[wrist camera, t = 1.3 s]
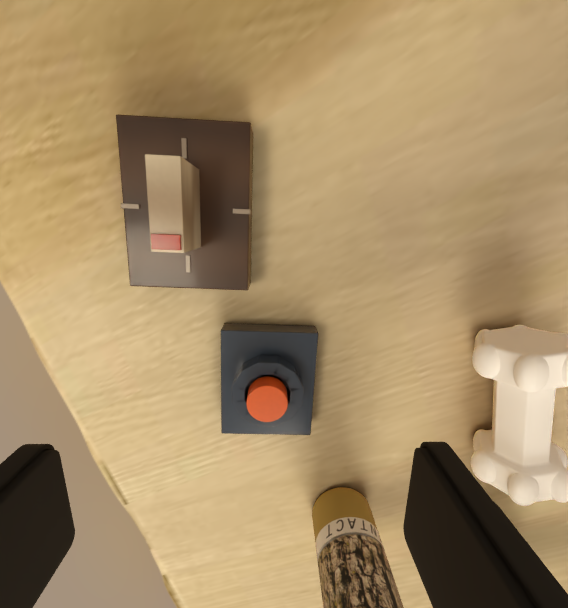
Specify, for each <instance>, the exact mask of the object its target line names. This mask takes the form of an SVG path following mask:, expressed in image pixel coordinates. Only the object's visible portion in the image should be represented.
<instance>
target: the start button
mask: <svg viewBox="0 0 568 608" xmlns="http://www.w3.org/2000/svg"><path fill="white" fill-rule="evenodd" d="M246 405H247V409H248V412H249V413H250V415H251V416H252V417H254V418H255V419H257V420H259V421H262V422H272V421H275V420H277V419H279V418H281V417H282V416H283V415H284V413H285V412H286V410H287V407H288V398H287V389H286V387H285V385H284V384H283V383H282V382H281V381H280V380H279V379H277V378H275V377H270V376H265V377H261V378H258V379H256V380H255V381H254V382H253V383H252V384H251V385H250V387H249V390H248V395H247V402H246Z"/></svg>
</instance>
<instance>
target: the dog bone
mask: <svg viewBox="0 0 568 608" xmlns="http://www.w3.org/2000/svg"><path fill="white" fill-rule="evenodd" d="M474 347H475V349H474V351H473V355H472V362H473V366H474V368H475V370H476V371H477V372H478V373H479V374H480V375H481V376H483V377H485V378H490V379H493V380H494V389H493V418H492V430H483V429H480V430H478V431H476V433H475V434H474V437H473V449H474V453H473V455H472V457H471V468H472V471H473V473H474V474H475V476H476V477H477V478H478V479H479V480H481V481H482V482H485V483H489V484H491V485H492V486H494V487H496V488H497V489H499V490H501V491H502V492H504V493H506V494H508V495H509V496H510V498H511V499H512V500H513V501H514V502H515V503H517V504H519V505H522V506H528V505H531V504H533V503H534V502H539V501H546V500H553V499H554V500H556V501H558V502H561V503H565V502H568V470H567V469H566V468H567V465H568V461H567V456H566V453H565V452H564V450H563V449H562V448H561V447H560V446H558V445H557V444H555V443H552V442H551V435H552V424H553V413H554V402H555V392H556V388H560V387H567V386H568V334H567V333H563V332H550V331H544V330H539V329H533V328H528V327H527V326H525V325H515V326H513V327H508V328H501V329H494V330H488V329H483V330H481V331H479V332H478V333H477V335H476V338H475V345H474Z"/></svg>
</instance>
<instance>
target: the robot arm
mask: <svg viewBox="0 0 568 608" xmlns="http://www.w3.org/2000/svg"><path fill="white" fill-rule="evenodd" d="M74 535H75V528H74V524H73V518H72V513H71V508H70V503H69V499H68V493H67V488H66V483H65V478H64V473H63V468H62V464H61V458H60V454H59V452H58V451H57V450H54V447H53V446H52V445H50V444H26V445H23V446H21V447H20V448H18V449H17V450H16V451H15V452H14V453H13V454H11V455H10V456H9V457H8V458H7V459H6V460H5V461H4V462H2V463H1V464H0V608H33V606H34V604H35V603H36V601H37V599H38V598H39V597H40V595H41V593H42V592H43V590H44V588H45V587H46V585H47V584H48V582H49V581H50V579H51V577H52V576H53V574H54V573H55V571H56V569H57V568H58V566H59V565H60V563H61V562H62V560H63V558H64V557H65V555H66V554H67V552H68V550H69V549H70V547H71V545H72V542H73V539H74ZM404 535H405V539H406V542H407V545H408V548H409V550H410V552H411V555H412V557H413V560H414V562H415V565H416V567H417V569H418V572H419V574H420V577H421V579H422V582H423V584H424V586H425V589H426V591H427V594H428V596H429V599H430V601H431V604H432V606H433V608H568V594H567V593H566V592H565V590H564V589H563V588H562V586H561V585H560V584H559V583H558V581H557V580H556V579H555V578H554V576H553V575H552V574H551V572H550V571H549V570H548V569H547V567H546V566H545V565H544V564H543V562H542V561H541V560H540V558H539V557H538V556H537V555H536V553H535V552H534V551H533V550H532V548H531V547H530V546H529V545H528V543H527V542H526V541H525V539H524V538H523V537H522V536H521V534H520V533H519V532H518V531H517V529H516V528H515V527H514V525H513V524H512V523H511V522H510V520H509V519H508V518H507V517H506V515H505V514H504V513H503V511H502V510H501V509H500V508H499V507H498V506H497V505H496V504H495V502H493V501H492V500H491V498H490V497H489V496H488V494H487V493H486V492H485V491H484V489H483V488H482V487H481V485H480V484H479V483H478V482H477V480H476V479H475V478H474V477H473V475H472V474H471V473H470V471H469V470H468V469H467V468H466V466H465V465H464V464H463V462H462V461H461V460H460V459H459V457H458V456H457V455H456V453H455V452H454V451H453V450H452V448H451V447H450V446H449V445H448V444H447V443H445V442H423V443H422V444H421V446H420V448H416V449H415V452H414V458H413V465H412V472H411V479H410V485H409V492H408V499H407V506H406V513H405V519H404Z"/></svg>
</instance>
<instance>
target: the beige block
mask: <svg viewBox="0 0 568 608" xmlns="http://www.w3.org/2000/svg"><path fill="white" fill-rule="evenodd" d="M145 164H146V180H147V196H148V211H149V227H150V243H151V252H169V253H185V252H188V251H191V250H194V249H197V248H200V247H201V223H200V179H199V169H198V168H196V167H195V166H194V165H192V164H191V163H189V162H188V161H187V160H185V159H184V158H182V157H181V156H171V155H153V154H145Z"/></svg>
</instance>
